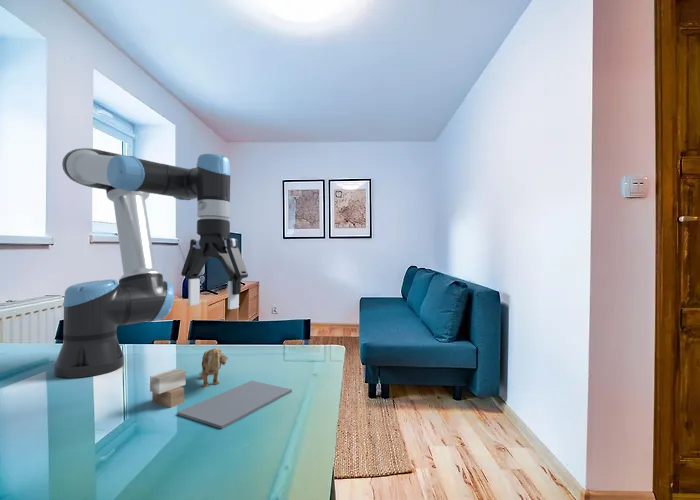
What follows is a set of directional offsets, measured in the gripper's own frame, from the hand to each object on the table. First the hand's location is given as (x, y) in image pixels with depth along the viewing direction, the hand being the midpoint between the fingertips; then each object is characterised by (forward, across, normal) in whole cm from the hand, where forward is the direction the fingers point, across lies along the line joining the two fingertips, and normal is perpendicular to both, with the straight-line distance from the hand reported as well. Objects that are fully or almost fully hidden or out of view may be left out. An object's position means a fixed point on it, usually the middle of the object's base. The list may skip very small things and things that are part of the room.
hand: (213, 306), depth 88 cm
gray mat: (+18, +15, -6) cm, 24 cm away
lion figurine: (+18, 0, 0) cm, 18 cm away
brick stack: (+18, +2, -13) cm, 22 cm away
